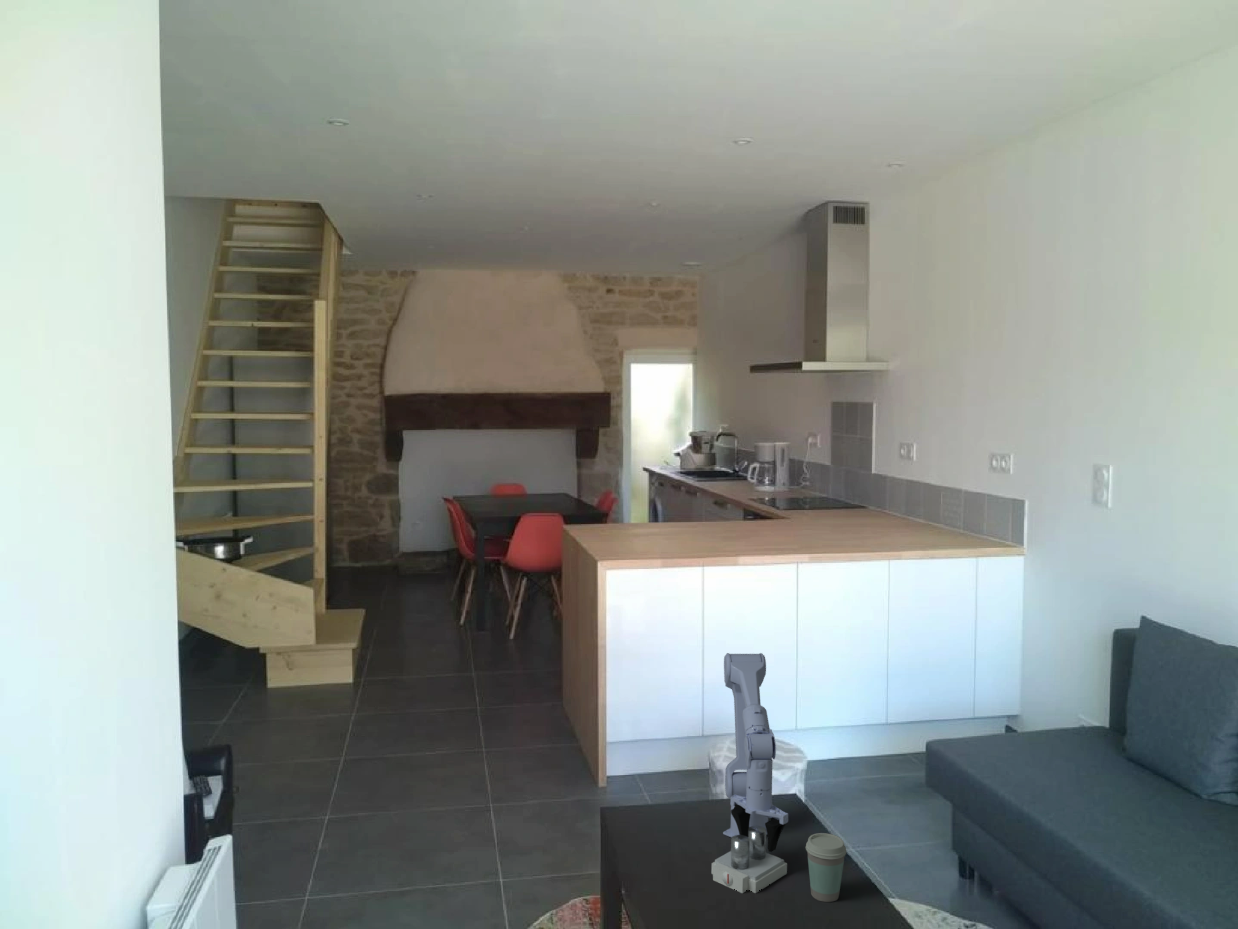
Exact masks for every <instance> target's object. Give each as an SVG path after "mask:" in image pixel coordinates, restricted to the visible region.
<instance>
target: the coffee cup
mask: <svg viewBox="0 0 1238 929" xmlns="http://www.w3.org/2000/svg"><path fill="white" fill-rule="evenodd" d="M805 851H806V852H807V863H808V874H809V875H808V876H809V883H810V884H809V885H810V894H811V896H812V898H814V899H815V900H817V901H819V902H823V903H831V902H836V901H837V900H839V896H840V891H841V890H840V889H841V885H842V884H841V883H842V876H843V871H844V863H845V856H846V855H847V847H846V845H845V842H844V840H843V839H842V838H841V837H839V836H837V835H835V834H832V833H825V832H820V833H819V832H818V833H814V834H810V836H809V837H808V838H807V842H806V844H805Z"/></svg>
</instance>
